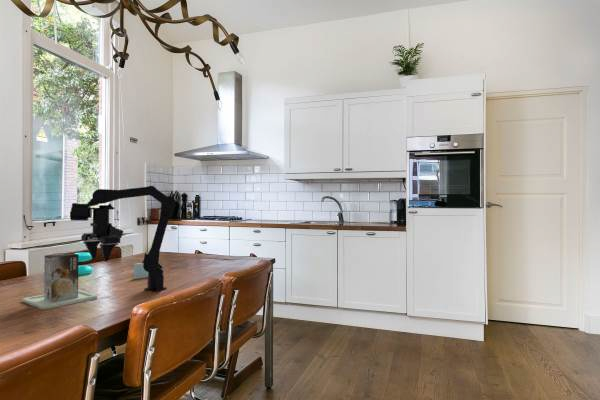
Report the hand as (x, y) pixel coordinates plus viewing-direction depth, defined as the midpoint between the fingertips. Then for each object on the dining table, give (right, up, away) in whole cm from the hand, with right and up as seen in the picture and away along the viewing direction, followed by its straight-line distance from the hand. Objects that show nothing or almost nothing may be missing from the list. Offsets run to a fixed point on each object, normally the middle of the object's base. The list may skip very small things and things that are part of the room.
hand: (100, 259), depth 146 cm
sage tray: (-8, -13, -12) cm, 19 cm away
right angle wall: (+1, -14, +34) cm, 37 cm away
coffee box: (-8, -12, -11) cm, 19 cm away
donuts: (-28, -13, +34) cm, 46 cm away
